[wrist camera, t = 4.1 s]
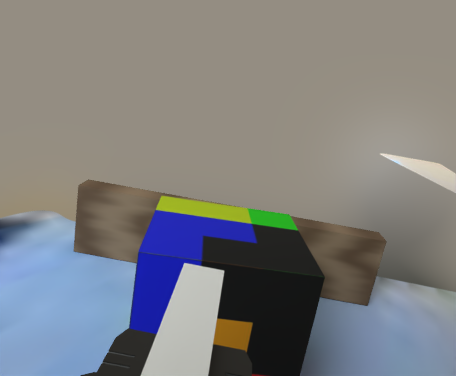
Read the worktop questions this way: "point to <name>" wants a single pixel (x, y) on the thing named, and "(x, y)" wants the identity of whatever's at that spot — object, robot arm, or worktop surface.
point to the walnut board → (148, 200)
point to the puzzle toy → (234, 278)
